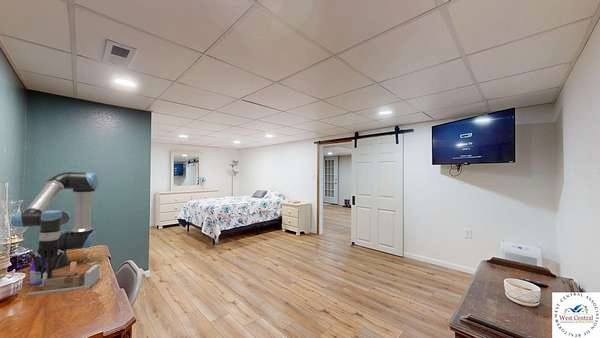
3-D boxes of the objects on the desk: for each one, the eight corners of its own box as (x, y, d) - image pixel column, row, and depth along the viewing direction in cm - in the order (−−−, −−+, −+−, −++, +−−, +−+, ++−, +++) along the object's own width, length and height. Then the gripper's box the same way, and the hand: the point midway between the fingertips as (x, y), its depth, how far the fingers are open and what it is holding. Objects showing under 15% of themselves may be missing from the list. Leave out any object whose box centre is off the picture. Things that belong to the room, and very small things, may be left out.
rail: (38, 288, 127) (40, 269, 128) (98, 281, 138) (99, 264, 138) (22, 299, 115) (23, 278, 116) (88, 291, 126) (90, 272, 126)
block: (51, 285, 128) (52, 274, 128) (84, 282, 133) (85, 271, 133) (42, 292, 120) (43, 280, 121) (77, 288, 126) (78, 277, 126)
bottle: (33, 288, 127) (36, 255, 128) (25, 286, 128) (28, 255, 129) (49, 282, 134) (52, 252, 135) (42, 281, 135) (45, 251, 136)
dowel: (69, 283, 128) (71, 261, 129) (75, 283, 129) (77, 261, 130) (67, 285, 126) (69, 263, 127) (73, 284, 127) (75, 262, 128)
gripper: (28, 242, 119) (23, 289, 118) (61, 240, 124) (57, 285, 123) (37, 238, 126) (33, 283, 125) (68, 237, 131) (65, 279, 130)
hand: (45, 284), depth 124 cm, fingers closed
